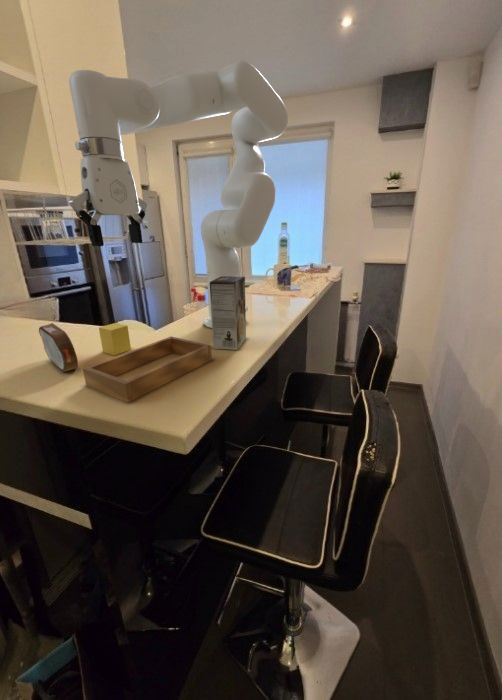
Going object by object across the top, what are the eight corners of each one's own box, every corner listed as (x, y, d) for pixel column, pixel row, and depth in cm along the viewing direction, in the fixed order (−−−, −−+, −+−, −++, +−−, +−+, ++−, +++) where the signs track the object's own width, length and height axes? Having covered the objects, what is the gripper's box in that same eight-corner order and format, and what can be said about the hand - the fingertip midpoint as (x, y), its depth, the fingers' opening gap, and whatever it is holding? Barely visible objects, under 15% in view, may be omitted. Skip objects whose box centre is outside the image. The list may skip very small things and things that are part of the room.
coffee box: (223, 337, 87) (220, 275, 81) (246, 338, 85) (245, 276, 80) (212, 348, 78) (208, 281, 73) (238, 350, 77) (236, 282, 71)
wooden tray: (172, 350, 78) (171, 336, 76) (211, 360, 72) (211, 345, 70) (86, 385, 60) (82, 368, 59) (128, 403, 54) (125, 384, 53)
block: (119, 346, 81) (115, 322, 78) (131, 349, 78) (127, 325, 76) (102, 351, 77) (98, 327, 75) (114, 355, 75) (110, 330, 73)
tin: (81, 373, 66) (73, 333, 63) (64, 378, 63) (55, 337, 60) (58, 354, 76) (50, 319, 73) (43, 358, 74) (34, 322, 71)
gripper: (70, 142, 55) (91, 248, 62) (150, 156, 69) (161, 242, 75) (47, 148, 59) (69, 247, 66) (127, 160, 73) (139, 241, 79)
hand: (118, 244), depth 70 cm, fingers open, 9 cm apart
